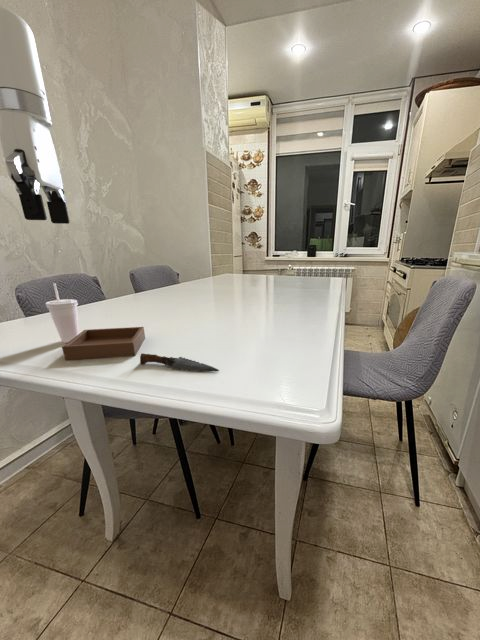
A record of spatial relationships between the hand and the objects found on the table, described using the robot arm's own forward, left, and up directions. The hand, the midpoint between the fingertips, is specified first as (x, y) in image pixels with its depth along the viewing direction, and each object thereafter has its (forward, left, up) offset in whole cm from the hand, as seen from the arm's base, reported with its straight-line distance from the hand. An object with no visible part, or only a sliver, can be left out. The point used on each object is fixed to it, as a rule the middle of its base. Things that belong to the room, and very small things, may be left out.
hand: (49, 221), depth 55 cm
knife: (+22, -13, -27) cm, 37 cm away
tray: (+6, +1, -26) cm, 27 cm away
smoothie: (-5, +9, -27) cm, 29 cm away
